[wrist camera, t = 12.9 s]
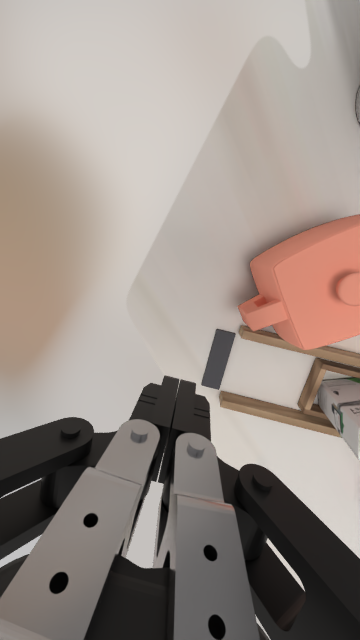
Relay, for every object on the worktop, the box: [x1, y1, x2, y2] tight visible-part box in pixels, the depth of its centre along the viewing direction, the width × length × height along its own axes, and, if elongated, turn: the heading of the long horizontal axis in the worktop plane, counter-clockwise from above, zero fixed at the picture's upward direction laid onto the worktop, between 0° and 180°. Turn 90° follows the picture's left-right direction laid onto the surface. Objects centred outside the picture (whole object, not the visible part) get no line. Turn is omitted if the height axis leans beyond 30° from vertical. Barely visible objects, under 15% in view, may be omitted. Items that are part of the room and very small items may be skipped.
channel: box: [219, 325, 360, 438], centre depth 40 cm, size 13×27×3 cm, turn 77°
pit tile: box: [201, 329, 235, 390], centre depth 42 cm, size 10×3×1 cm, turn 167°
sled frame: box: [298, 358, 360, 420], centre depth 40 cm, size 9×13×2 cm
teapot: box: [238, 215, 360, 350], centre depth 31 cm, size 22×13×14 cm, turn 115°
